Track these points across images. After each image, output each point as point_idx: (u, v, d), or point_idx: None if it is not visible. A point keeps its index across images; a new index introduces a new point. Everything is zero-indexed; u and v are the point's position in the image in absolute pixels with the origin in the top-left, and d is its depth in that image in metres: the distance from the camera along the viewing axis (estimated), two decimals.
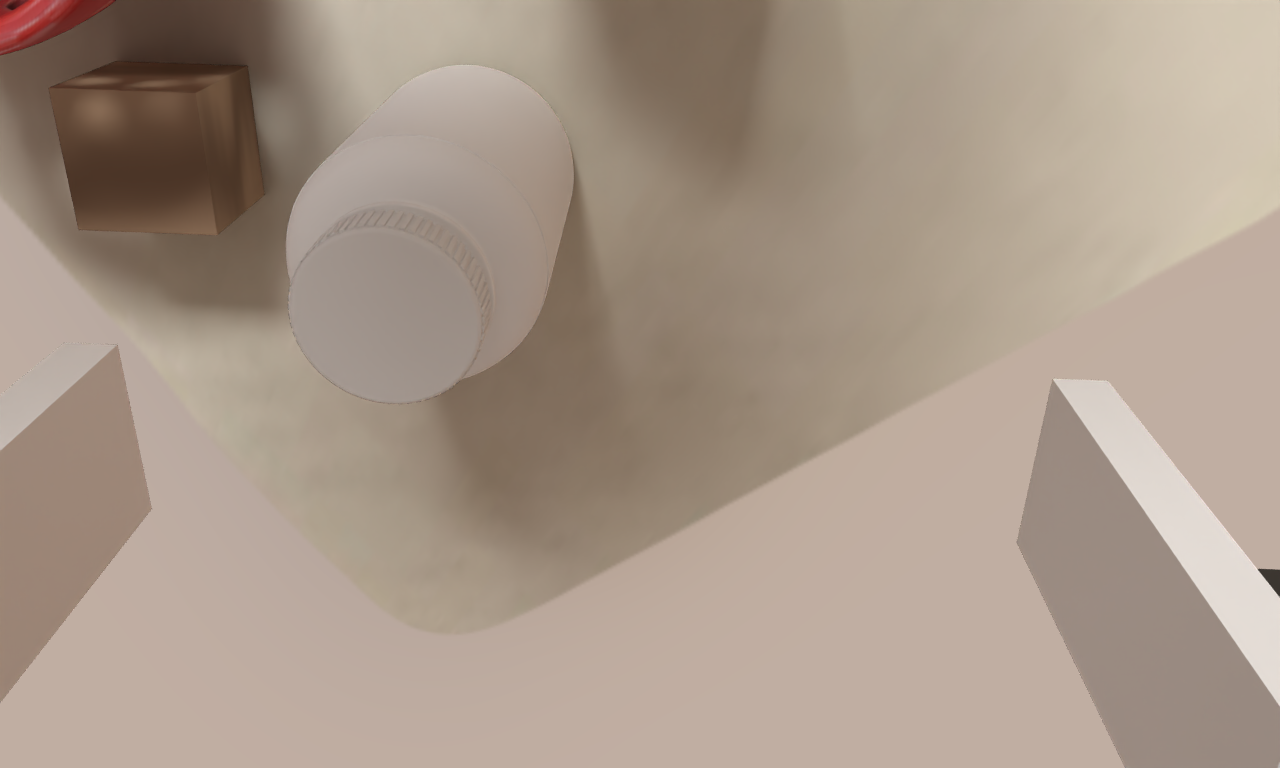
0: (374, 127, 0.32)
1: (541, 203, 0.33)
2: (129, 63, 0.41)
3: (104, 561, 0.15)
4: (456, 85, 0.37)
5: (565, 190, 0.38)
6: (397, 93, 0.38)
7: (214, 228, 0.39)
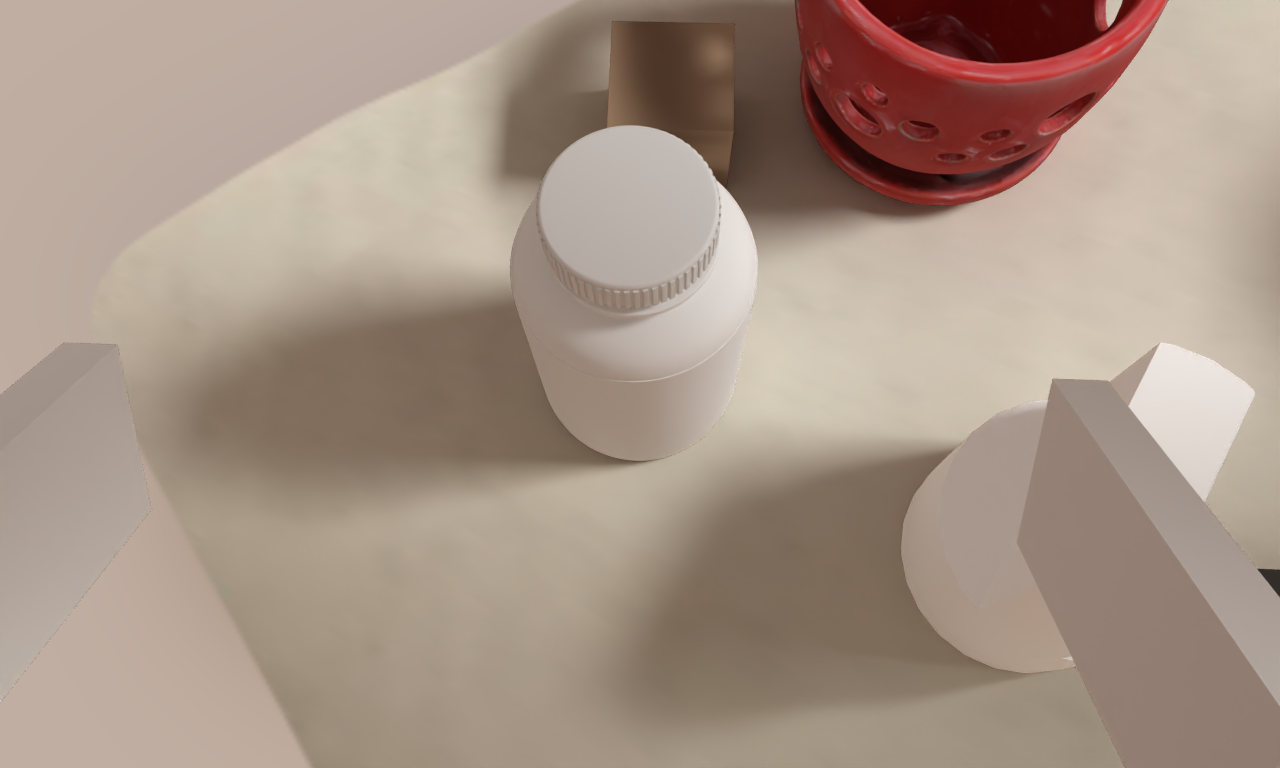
0: None
1: (681, 386, 0.35)
2: None
3: (103, 561, 0.15)
4: None
5: (647, 435, 0.39)
6: None
7: (613, 126, 0.43)
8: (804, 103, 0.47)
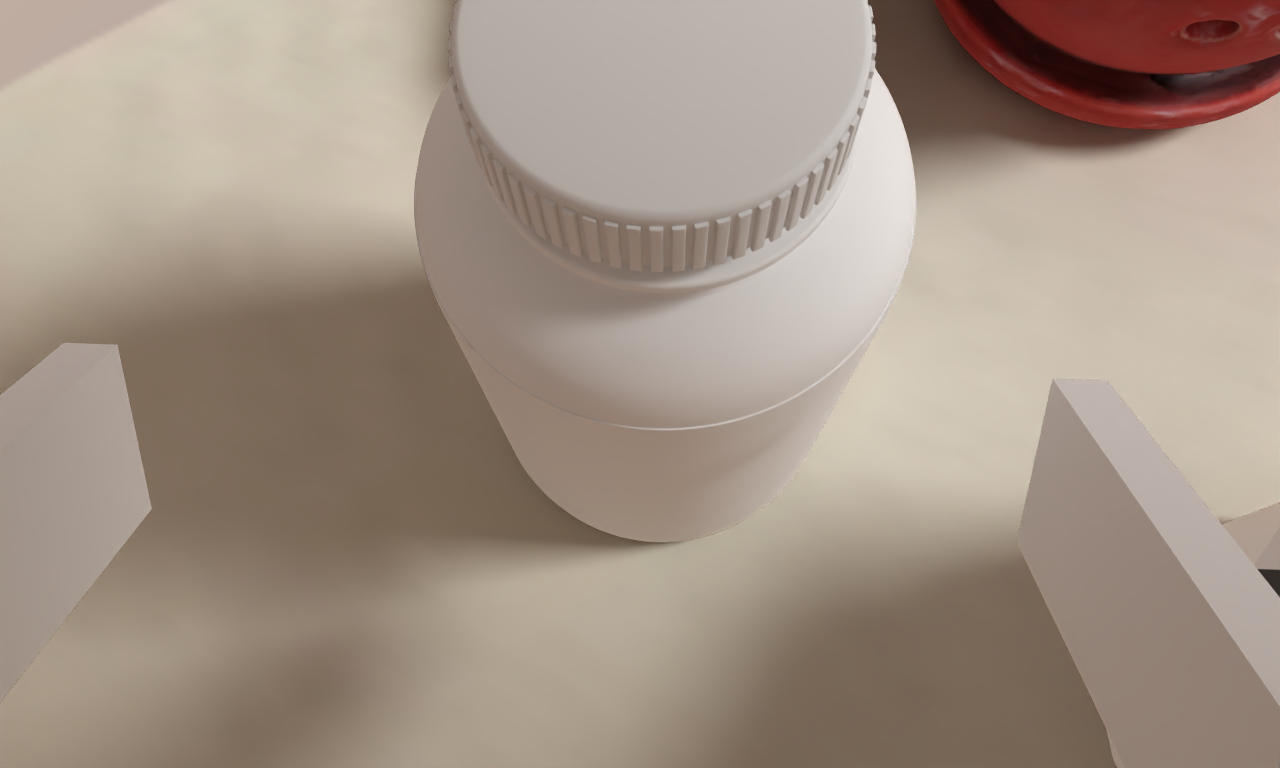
0: None
1: (756, 436, 0.17)
2: None
3: (104, 561, 0.15)
4: None
5: (678, 512, 0.22)
6: None
7: None
8: None
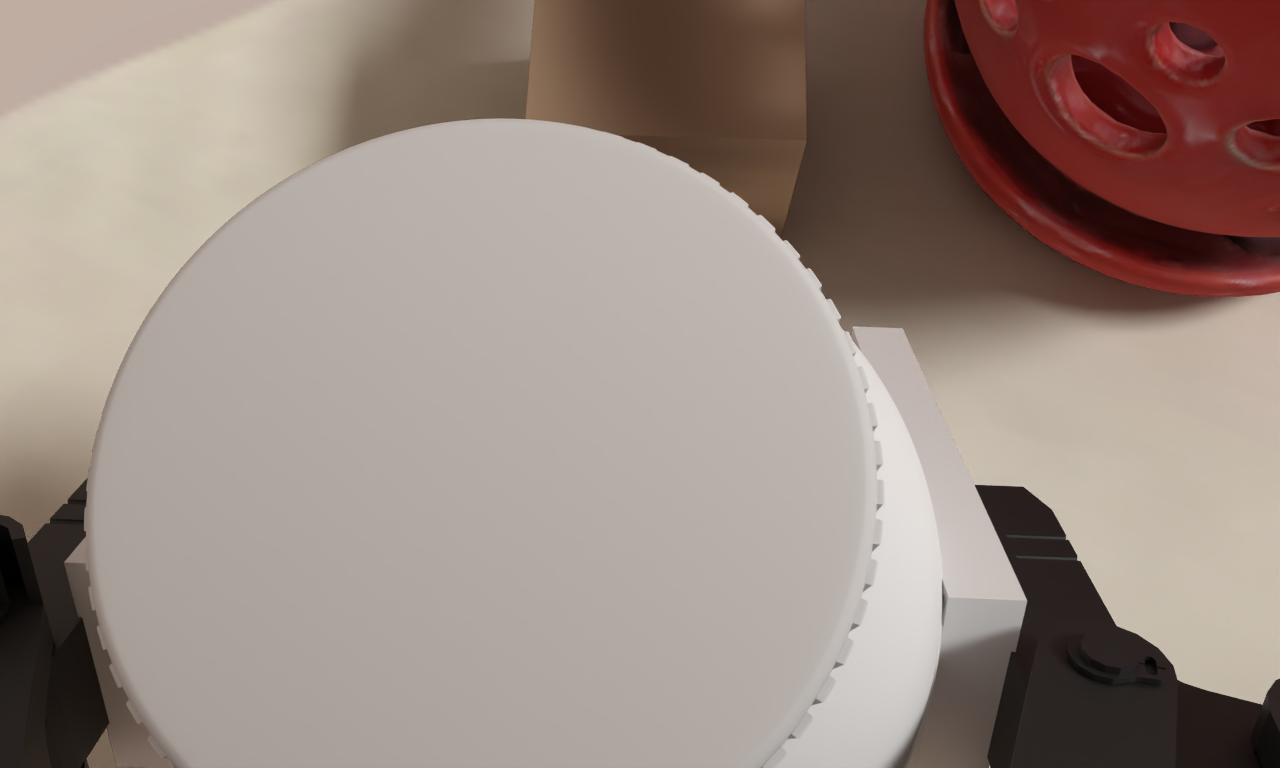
0: None
1: None
2: None
3: None
4: None
5: None
6: None
7: None
8: (936, 85, 0.23)
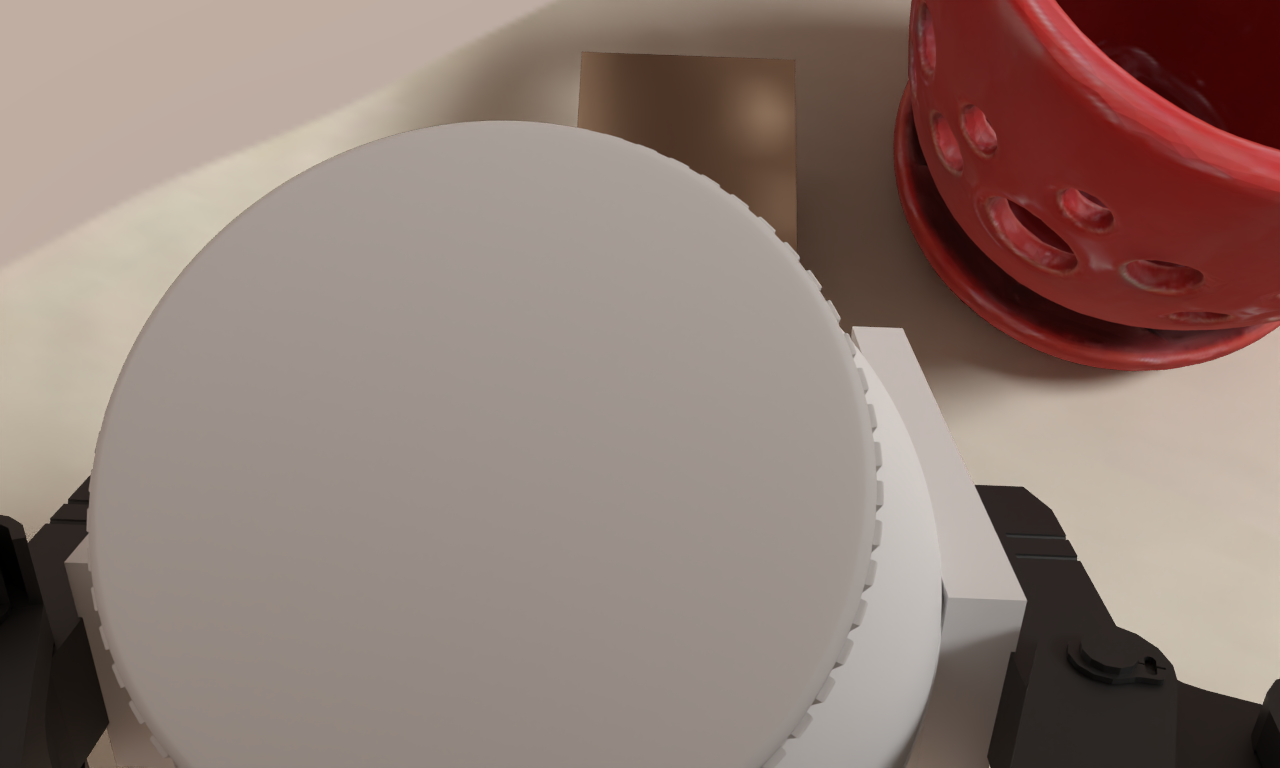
0: None
1: None
2: None
3: None
4: None
5: None
6: None
7: None
8: (903, 191, 0.28)
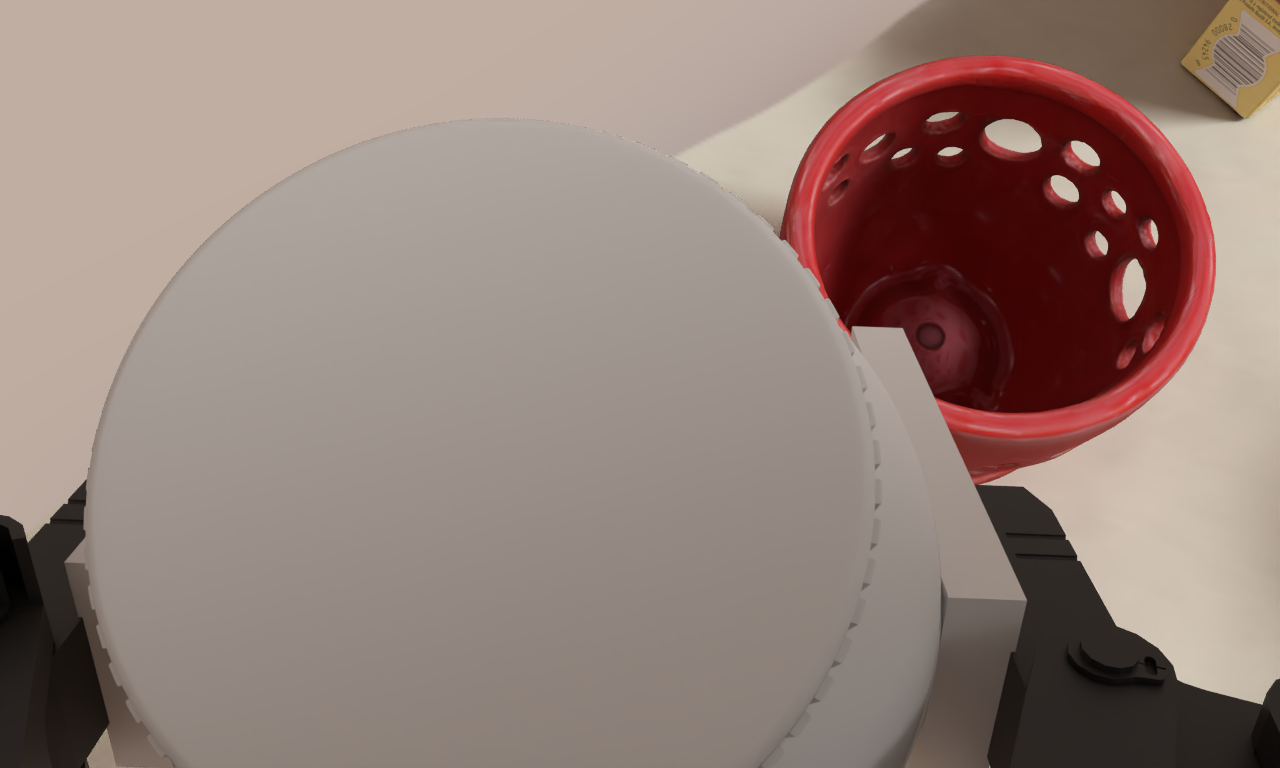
0: None
1: None
2: None
3: None
4: None
5: None
6: None
7: None
8: None
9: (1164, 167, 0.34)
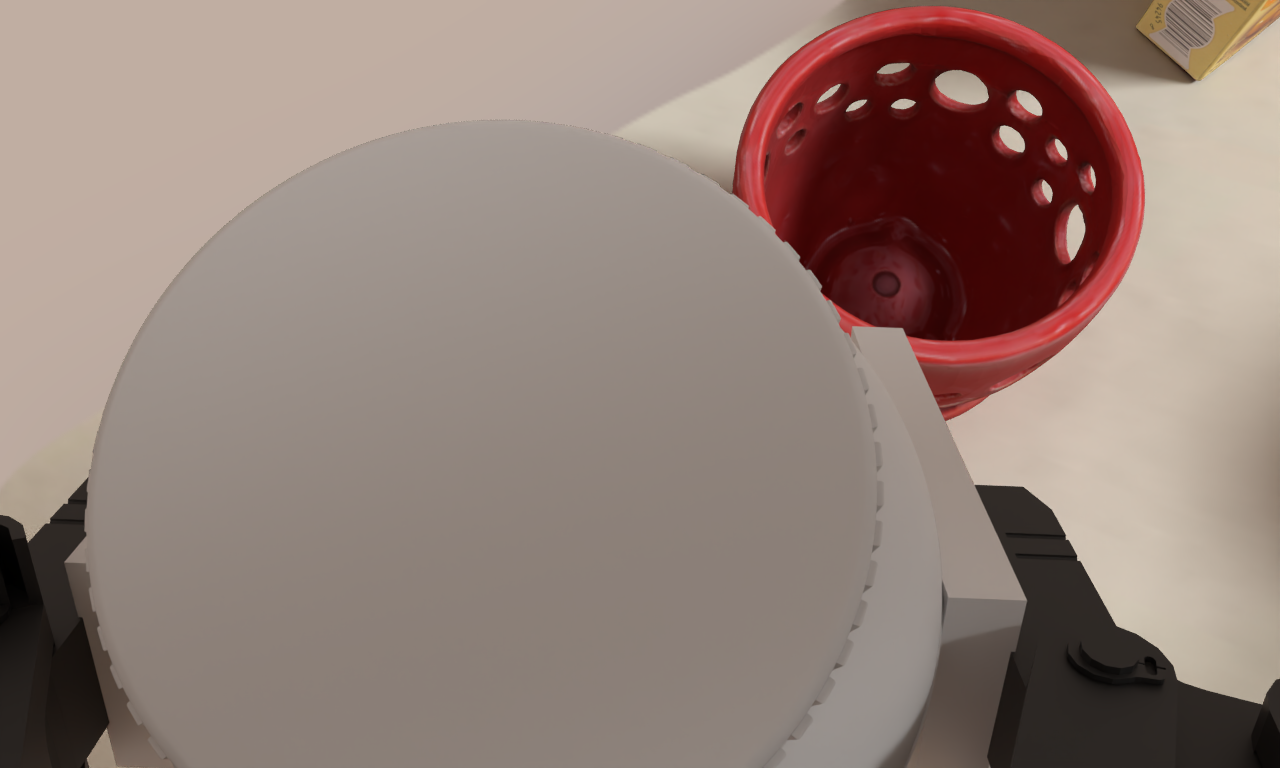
0: None
1: None
2: None
3: None
4: None
5: None
6: None
7: None
8: None
9: (1098, 111, 0.35)
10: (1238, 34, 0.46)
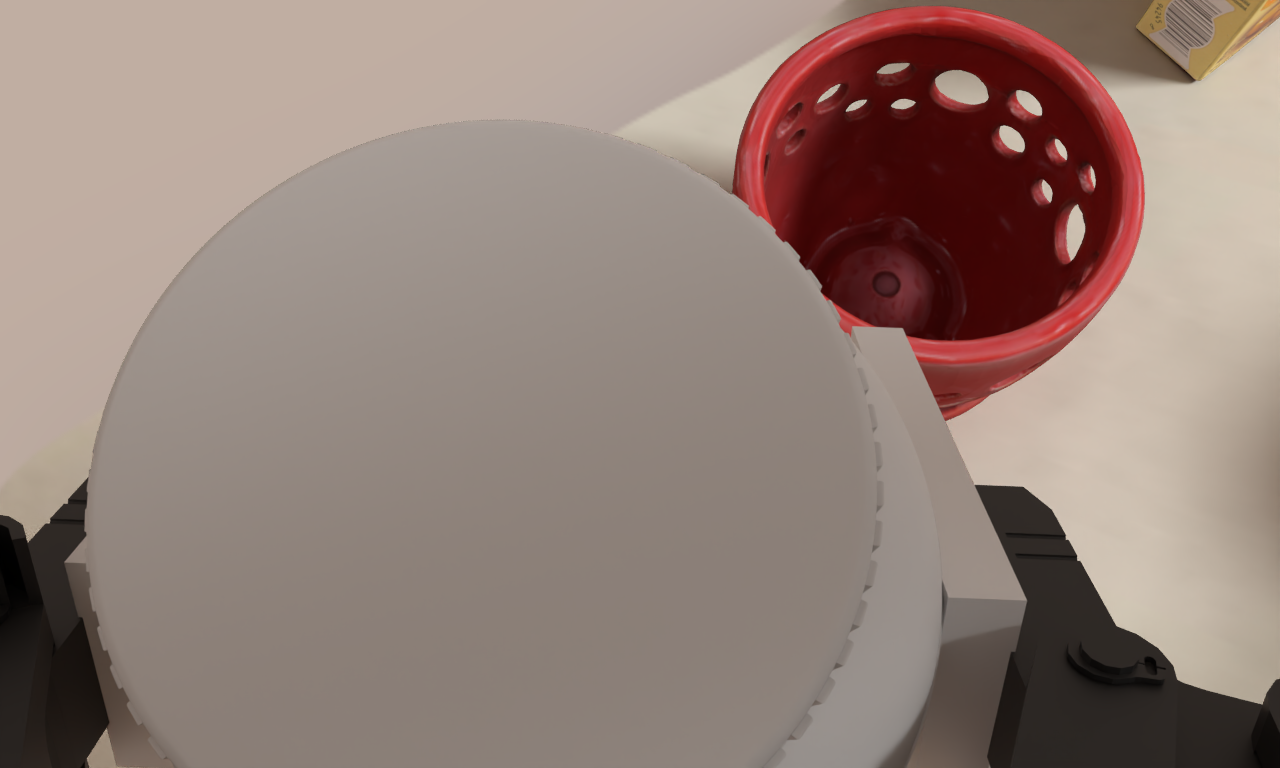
0: None
1: None
2: None
3: None
4: None
5: None
6: None
7: None
8: None
9: (1097, 111, 0.35)
10: (1238, 34, 0.46)
